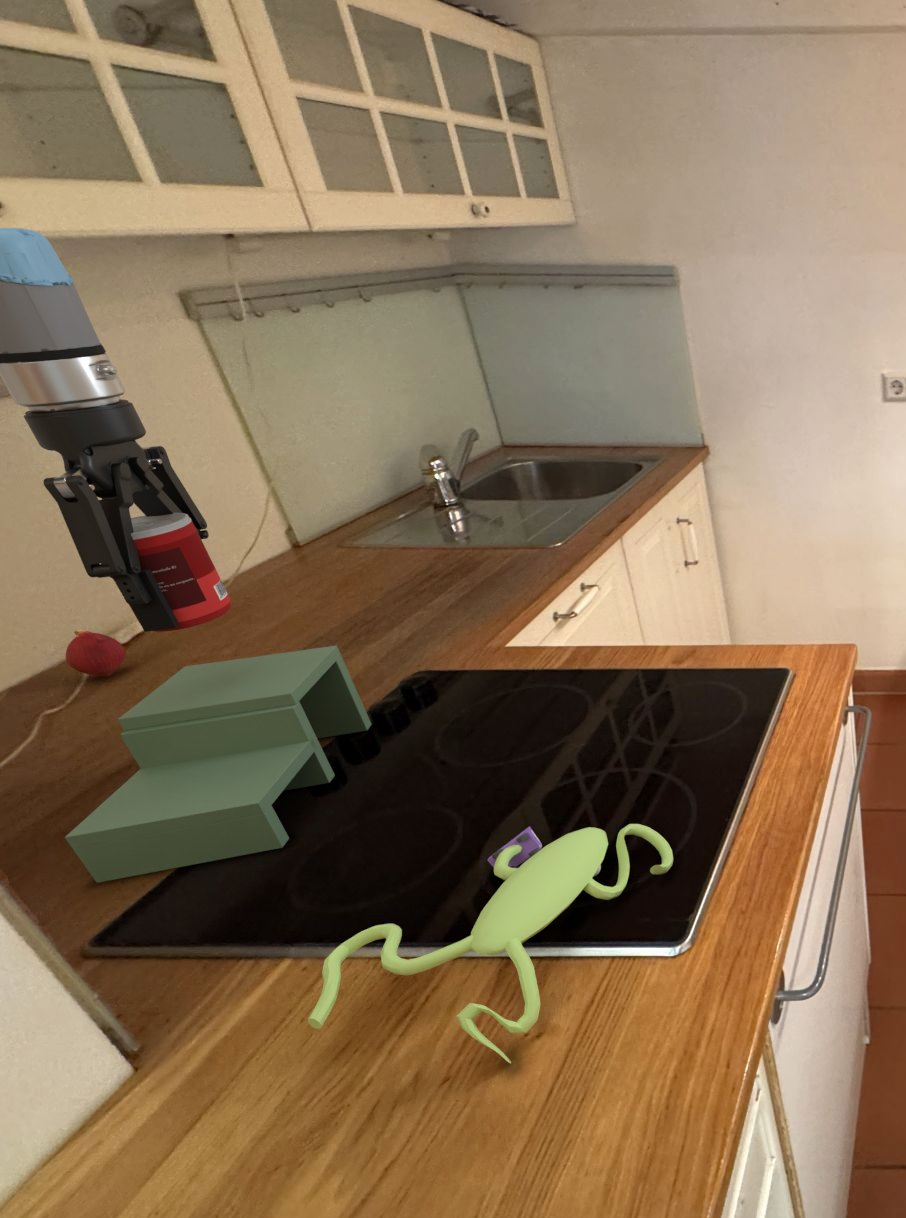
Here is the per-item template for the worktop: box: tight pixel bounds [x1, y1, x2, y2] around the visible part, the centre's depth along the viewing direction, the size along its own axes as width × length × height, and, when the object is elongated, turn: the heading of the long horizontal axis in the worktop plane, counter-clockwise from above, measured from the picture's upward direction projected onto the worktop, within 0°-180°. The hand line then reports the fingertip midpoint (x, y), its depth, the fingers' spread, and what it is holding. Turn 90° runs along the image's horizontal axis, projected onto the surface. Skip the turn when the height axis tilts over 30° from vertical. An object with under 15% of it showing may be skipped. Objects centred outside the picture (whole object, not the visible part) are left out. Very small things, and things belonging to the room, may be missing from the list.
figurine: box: [307, 823, 674, 1064], centre depth 68 cm, size 18×27×6 cm
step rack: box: [64, 645, 372, 884], centre depth 87 cm, size 16×24×12 cm, turn 16°
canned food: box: [123, 513, 232, 633], centre depth 83 cm, size 8×8×11 cm
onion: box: [65, 628, 126, 678], centre depth 114 cm, size 6×6×8 cm
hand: (186, 611), depth 85 cm, fingers closed on canned food, 8 cm apart
